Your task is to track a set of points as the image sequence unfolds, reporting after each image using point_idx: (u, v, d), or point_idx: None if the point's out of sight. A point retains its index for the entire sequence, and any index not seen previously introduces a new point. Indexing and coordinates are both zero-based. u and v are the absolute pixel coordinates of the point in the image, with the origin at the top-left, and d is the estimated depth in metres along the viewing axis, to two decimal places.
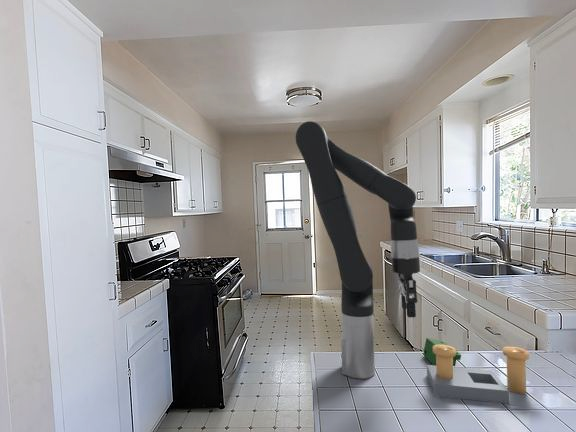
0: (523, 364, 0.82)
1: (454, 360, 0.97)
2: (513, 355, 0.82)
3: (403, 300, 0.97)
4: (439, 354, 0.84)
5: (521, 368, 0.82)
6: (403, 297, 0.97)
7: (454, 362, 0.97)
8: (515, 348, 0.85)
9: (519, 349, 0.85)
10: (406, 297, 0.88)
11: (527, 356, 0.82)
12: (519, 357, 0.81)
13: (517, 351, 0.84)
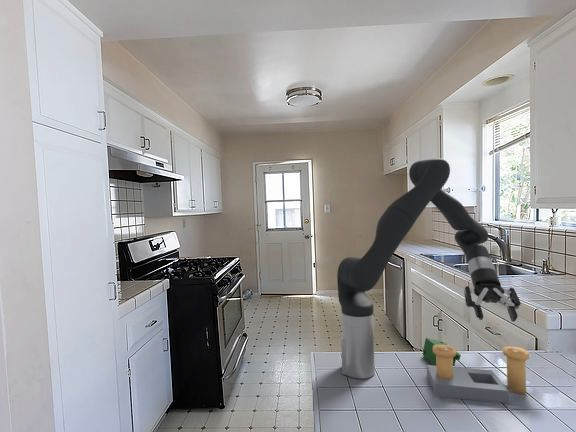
0: (523, 364, 0.82)
1: (453, 360, 0.97)
2: (513, 355, 0.82)
3: None
4: (439, 354, 0.84)
5: (521, 368, 0.82)
6: None
7: (453, 362, 0.97)
8: (515, 348, 0.85)
9: (519, 349, 0.85)
10: (511, 301, 0.97)
11: (527, 356, 0.82)
12: (519, 357, 0.81)
13: (517, 351, 0.84)
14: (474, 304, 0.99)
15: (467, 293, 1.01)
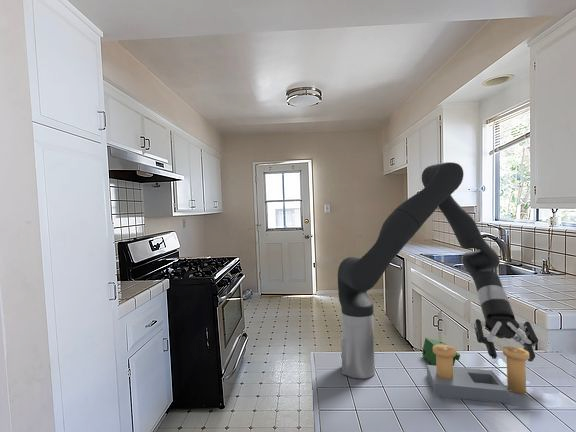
0: (523, 364, 0.82)
1: (453, 360, 0.97)
2: (513, 355, 0.82)
3: None
4: (439, 354, 0.84)
5: (521, 368, 0.82)
6: None
7: (453, 362, 0.97)
8: (515, 348, 0.85)
9: (519, 349, 0.85)
10: (527, 338, 0.88)
11: (527, 356, 0.82)
12: (519, 357, 0.81)
13: (517, 351, 0.84)
14: (486, 340, 0.89)
15: (478, 327, 0.92)
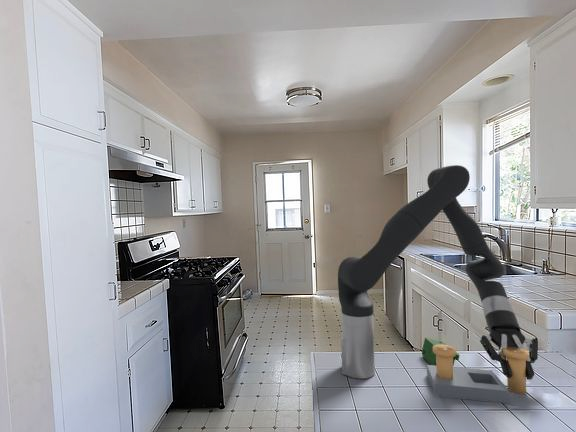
0: (523, 364, 0.82)
1: None
2: (513, 355, 0.82)
3: None
4: (439, 354, 0.84)
5: (521, 368, 0.82)
6: None
7: None
8: (515, 348, 0.85)
9: (519, 349, 0.85)
10: None
11: (527, 356, 0.82)
12: (519, 357, 0.81)
13: (517, 351, 0.84)
14: (501, 359, 0.85)
15: (487, 344, 0.88)
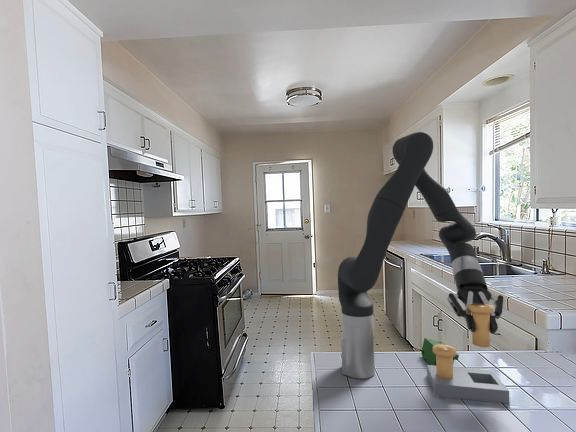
0: (487, 318, 0.82)
1: None
2: (477, 309, 0.82)
3: None
4: (439, 354, 0.84)
5: (485, 321, 0.82)
6: None
7: None
8: (480, 304, 0.86)
9: (484, 304, 0.85)
10: None
11: (491, 310, 0.82)
12: (483, 310, 0.82)
13: (482, 305, 0.84)
14: (466, 314, 0.85)
15: (454, 301, 0.88)
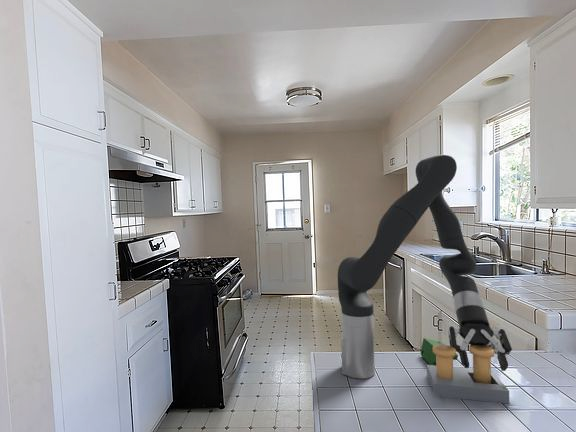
0: (488, 362, 0.83)
1: None
2: (478, 353, 0.83)
3: None
4: (439, 354, 0.84)
5: (486, 365, 0.83)
6: None
7: None
8: (481, 346, 0.86)
9: (485, 347, 0.86)
10: (500, 346, 0.85)
11: (492, 354, 0.82)
12: (484, 355, 0.82)
13: (483, 348, 0.85)
14: (459, 349, 0.86)
15: (451, 335, 0.89)
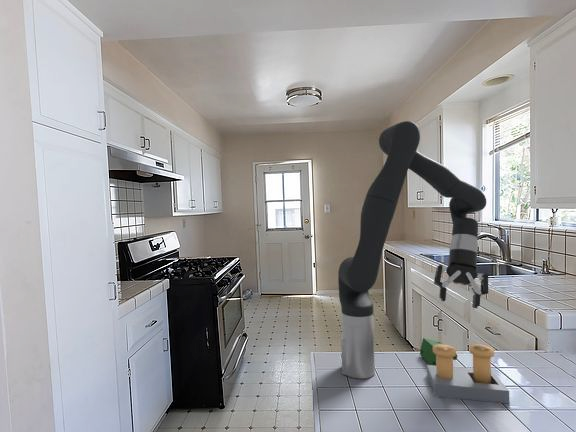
0: (488, 362, 0.83)
1: None
2: (478, 353, 0.83)
3: None
4: (439, 354, 0.84)
5: (486, 365, 0.83)
6: None
7: None
8: (481, 346, 0.86)
9: (485, 347, 0.86)
10: (479, 289, 0.95)
11: (492, 354, 0.82)
12: (484, 355, 0.82)
13: (483, 348, 0.85)
14: (441, 285, 0.97)
15: (438, 273, 0.98)
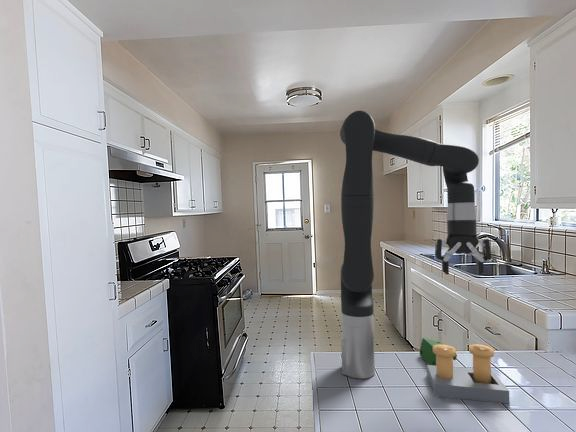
0: (488, 362, 0.83)
1: None
2: (478, 353, 0.83)
3: None
4: (439, 354, 0.84)
5: (486, 365, 0.83)
6: None
7: None
8: (481, 346, 0.86)
9: (485, 347, 0.86)
10: (481, 256, 0.92)
11: (492, 354, 0.82)
12: (484, 355, 0.82)
13: (483, 348, 0.85)
14: (442, 260, 0.95)
15: (438, 248, 0.95)
